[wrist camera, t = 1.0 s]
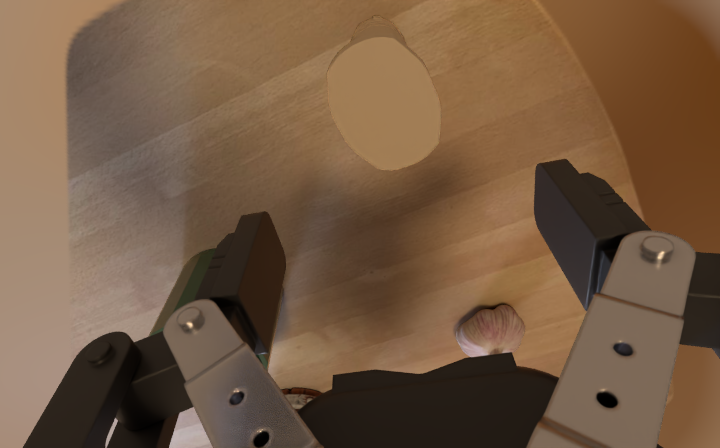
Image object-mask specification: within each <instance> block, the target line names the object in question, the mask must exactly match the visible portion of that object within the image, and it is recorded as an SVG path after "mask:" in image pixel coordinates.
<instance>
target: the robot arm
mask: <svg viewBox="0 0 720 448" xmlns="http://www.w3.org/2000/svg"><path fill="white" fill-rule="evenodd" d="M534 215H535V221H536V224H537V227H538V229H539V231H540V233H541V235H542V236H543V238H544V240H545V241H546V243H547V245H548V247H549V248H550V250H551V252H552V254H553V255H554V257H555V259H556V260H557V262H558V264H559V266H560V267H561V269H562V271H563V272H564V274H565V276H566V278H567V279H568V281H569V283H570V285H571V286H572V288H573V290H574V291H575V293H576V295H577V297H578V298H579V300H580V302H581V304H582V305H583V307H584V309H585V310H586V311H587V313H586V315H585V318H584V320H583V322H582V325H581V327H580V330H579V332H578V334H577V337H576V339H575V342H574V344H573V346H572V349H571V351H570V354H569V356H568V358H567V361H566V363H565V366H564V368H563V370H562V373H561V375H560V378H558V377H556V376H553V375H551V374H549V373H546V372H543V371H540V370H536V369H532V368H527V367H521V366H516V363H515V360H514V357H513V355H512V352H508V353H500V354H492V355H485V356H477V357H469V358H464V359H462V360H459V361H456V362H454V363H451V364H448V365H446V366H443V367H440V368H438V369H435V370H432V371H429V372H427V373H423V374H413V373H403V372H394V371H384V370H368V371H361V372H353V373H345V374H337V375H333V384H332V390H329V391H327V392H325V393H323V394H321V395H319V396H317V397H315V398H314V399H312V400H311V401H309V402H308V403H307V404H305V405H304V406H303V407H302V408H300V409H299V410H298V411H297V412H296V410H295V409H294V407H293V406H292V405H291V403H290V402H289V400H288V399H287V398H286V396H285V395H284V394H283V392H282V391H281V389H280V388H279V387H278V385H277V384H276V382H275V381H274V380H273V378H272V377H271V376H270V374H269V373H268V371H267V370H266V369H265V367H264V366H263V365H262V363H261V362H260V360H259V359H258V358H257V356H256V355H260V354H268V352H269V347H270V342H271V337H272V333H273V328H274V323H275V318H276V313H277V308H278V304H279V299H280V294H281V289H282V284H283V280H284V275H285V270H286V259H285V254H284V250H283V247H282V245H281V242H280V240H279V237H278V235H277V232H276V230H275V227H274V225H273V222H272V220H271V217H270V215H269V214H268V213H267V212H266V211H264V212H259V213H253V214H248V215H243V216H241V218H240V220H239V223H238V225H237V228H236V230H235V233H231V234H228V235H227V236H226V237H225V238H224V239H223V240H222V241H221V242H220V243H219V244H218V245H217V248H216V250H215V252H214V255H213V257H212V258H213V260H211V262H210V264H209V266H208V270H207V271H206V273H205V275H204V278H203V280H202V282H201V285H200V287H199V289H198V292H197V294H196V296H195V299H194V301H192V302H190V303H187V304H185V305H183V306H182V307H180V308H179V309H177V310H176V311H175V312H174V313H173V314H172V315H171V316H170V317H169V318H168V320H167V321H166V323H165V325H164V329H163V331H162V332H159V333H157V334H154V335H152V336H149V337H147V338H144V339H142V340H139V341H137V342H133V341H132V339H131V338H130V337H129V336H128V335H127V334H126V333H124V332H112V333H108V334H105V335H103V336H101V337H99V338H97V339H95V340H93V341H92V342H91V343H89V344H88V345H87V346H86V347H84V348H83V349H82V350H81V351H80V352H79V354H78V355H77V356H76V358H75V359H74V361H73V362H72V364H71V366H70V368H69V369H68V371H67V373H66V374H65V376H64V378H63V380H62V382H61V383H60V385H59V386H58V388H57V390H56V392H55V393H54V395H53V397H52V398H51V400H50V402H49V404H48V405H47V407H46V409H45V410H44V412H43V414H42V416H41V417H40V419H39V421H38V422H37V424H36V426H35V427H34V429H33V431H32V433H31V435H30V436H29V438H28V440H27V441H26V443H25V445H24V446H23V448H105V443H106V438H107V436H108V433H109V431H110V428H111V426H112V424H113V422H114V419H115V418H116V419H117V420H118V422H117V425H116V427H115V429H114V432H113V434H112V437H111V439H110V441H109V444H108V446H107V448H169V445H170V442H171V438H172V435H173V432H174V428H175V425H176V422H177V419H178V415H179V413H180V412H183V411H185V410H187V409H189V408H192V407H194V408H195V410H196V413H197V415H198V417H199V419H200V421H201V423H202V425H203V427H204V429H205V432H206V434H207V436H208V438H209V440H210V442H211V444H212V446H213V448H663V447H661V446H660V445H659V444H657V442H658V438H659V433H660V429H661V424H662V419H663V415H664V410H665V406H666V401H667V397H668V392H669V388H670V383H671V379H672V374H673V369H674V365H675V360H676V355H677V351H678V347H679V344H682V345H691V346H699V347H707V348H712V349H713V350H714V351H715V353H716V354H717V356H718V357H719V358H720V254H714V253H700V252H695V251H694V249H693V248H692V246H691V245H690V244H688V243H687V242H686V241H685V240H683V239H681V238H679V237H677V236H675V235H672V234H669V233H664V232H659V231H652V230H651V229H650V228H649V227H648V226H647V225H646V224H645V223H644V222H643V221H642V219H641V218H640V217H639V216H638V215H637V214H636V213H635V212H634V211H633V210H632V209H631V208H630V207H629V206H628V205H627V204H626V202H623V199H622V198H621V197H620V196H619V195H618V194H617V193H615V191H614V190H613V189H612V188H611V187H610V185H609V184H608V183H607V182H606V181H605V180H603V179H601V178H599V177H597V176H594V175H592V174H590V173H582V174H579V173H578V171H577V170H576V169H575V168H574V167H573V166H572V164H571V163H570V162H569V161H568V160H567V159H562V160H556V161H550V162H545V163H539V164H537V166H536V170H535V195H534Z"/></svg>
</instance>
